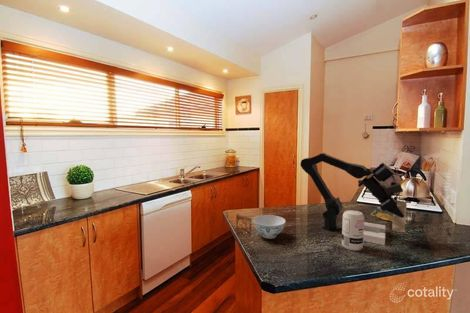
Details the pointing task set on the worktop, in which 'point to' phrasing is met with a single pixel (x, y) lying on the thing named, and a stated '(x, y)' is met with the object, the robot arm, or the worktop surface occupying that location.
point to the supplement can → (352, 230)
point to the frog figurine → (382, 215)
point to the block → (398, 221)
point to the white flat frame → (374, 233)
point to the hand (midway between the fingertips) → (403, 215)
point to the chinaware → (269, 225)
